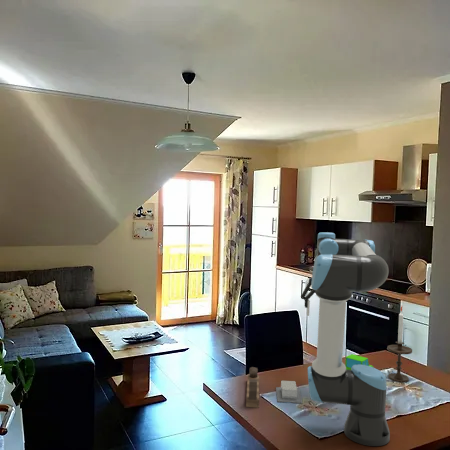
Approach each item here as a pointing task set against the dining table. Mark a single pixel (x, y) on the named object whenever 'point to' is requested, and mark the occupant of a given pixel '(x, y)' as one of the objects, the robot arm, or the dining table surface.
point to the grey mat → (279, 399)
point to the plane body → (253, 388)
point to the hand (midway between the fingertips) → (323, 315)
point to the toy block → (355, 361)
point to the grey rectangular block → (288, 390)
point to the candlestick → (399, 353)
